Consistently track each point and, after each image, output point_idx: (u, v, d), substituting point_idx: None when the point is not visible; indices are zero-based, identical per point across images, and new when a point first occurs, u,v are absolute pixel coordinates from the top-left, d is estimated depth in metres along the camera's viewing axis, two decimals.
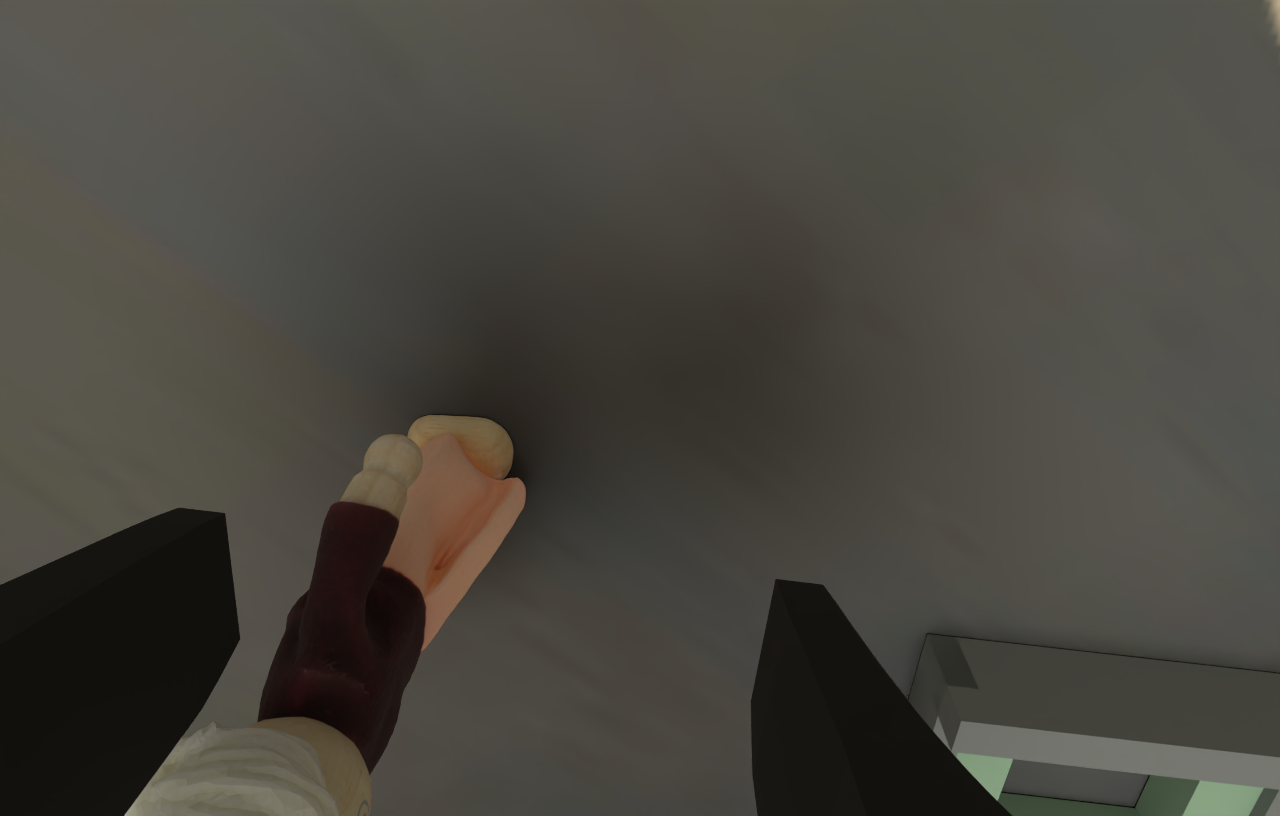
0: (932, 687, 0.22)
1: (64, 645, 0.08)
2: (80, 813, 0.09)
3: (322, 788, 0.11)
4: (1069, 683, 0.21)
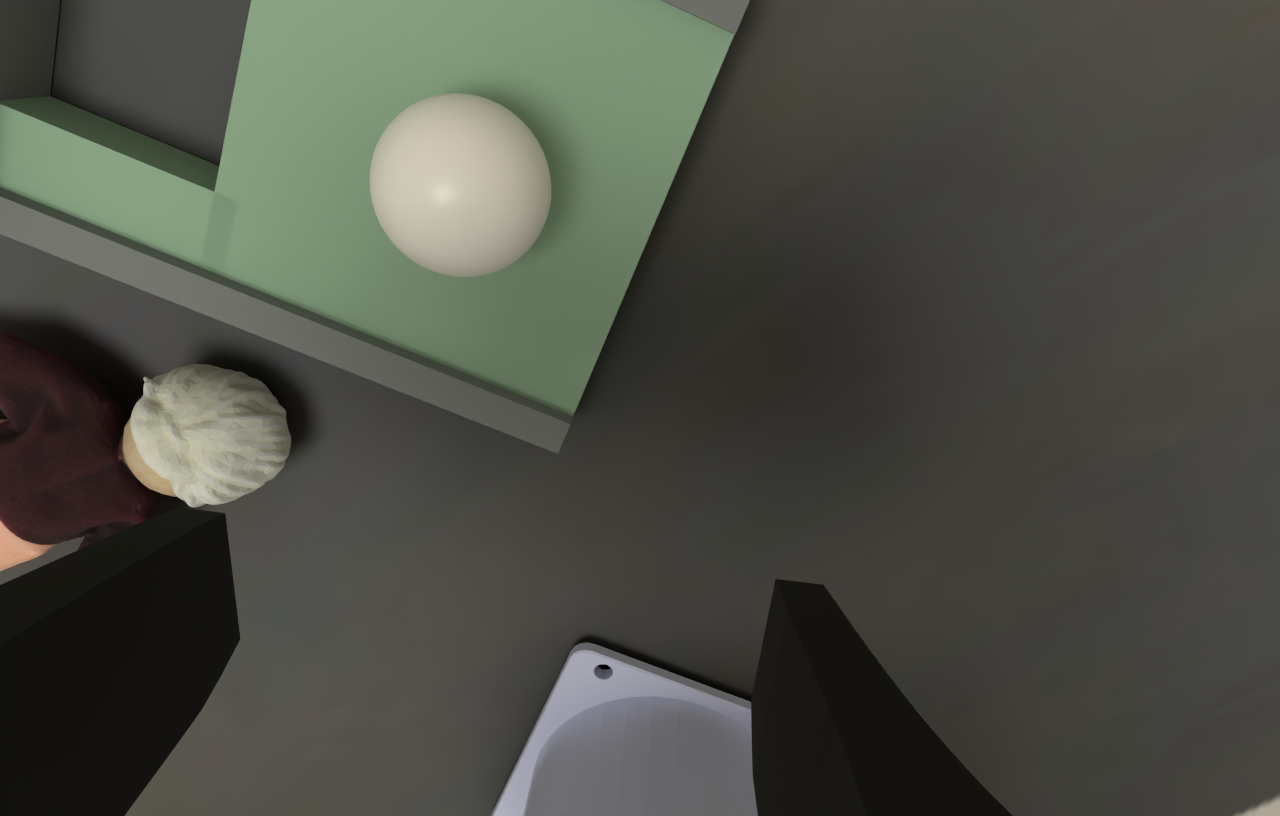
0: None
1: (65, 645, 0.08)
2: (80, 813, 0.09)
3: None
4: None
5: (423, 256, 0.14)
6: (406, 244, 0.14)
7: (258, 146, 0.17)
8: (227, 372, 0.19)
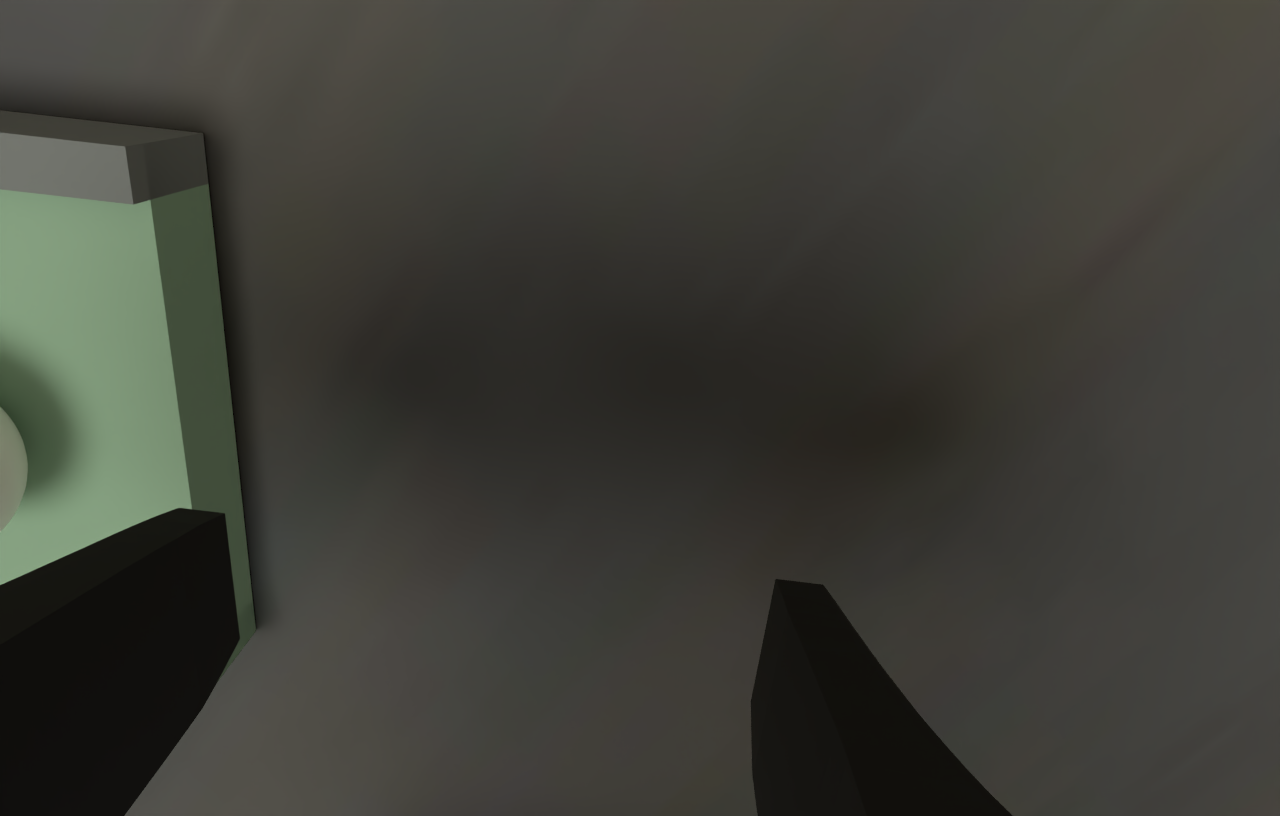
0: None
1: (64, 645, 0.08)
2: (80, 813, 0.09)
3: None
4: None
5: None
6: None
7: None
8: None
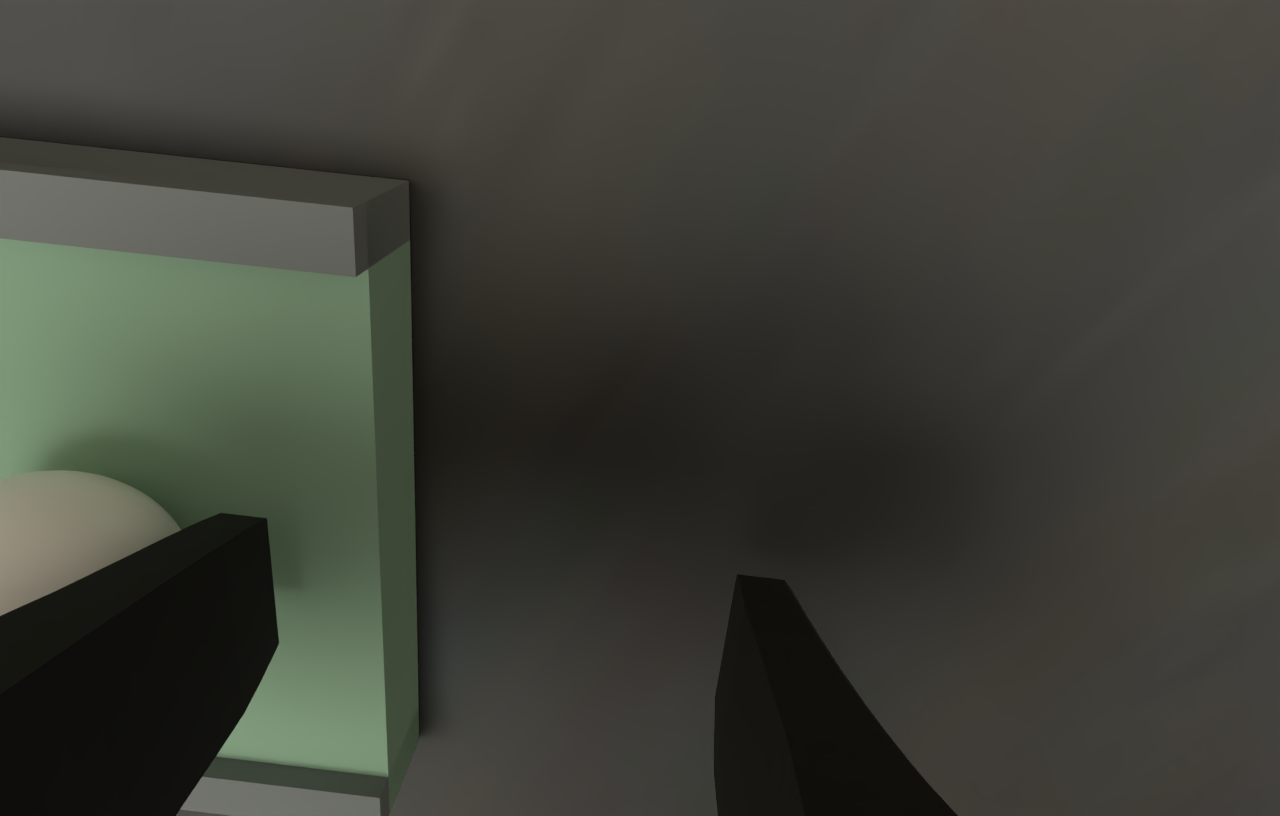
0: None
1: (118, 652, 0.08)
2: None
3: None
4: None
5: None
6: None
7: None
8: None
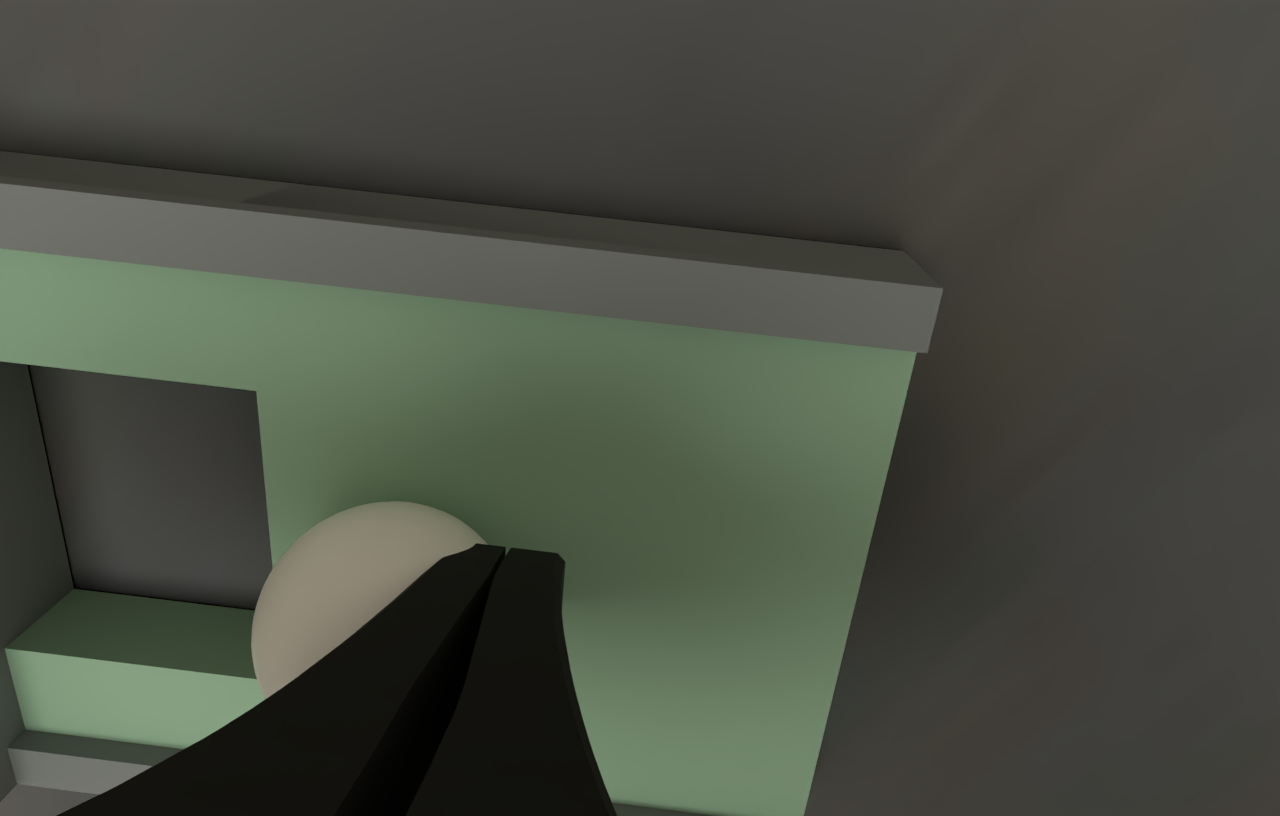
0: None
1: (433, 690, 0.08)
2: None
3: None
4: None
5: None
6: None
7: None
8: None
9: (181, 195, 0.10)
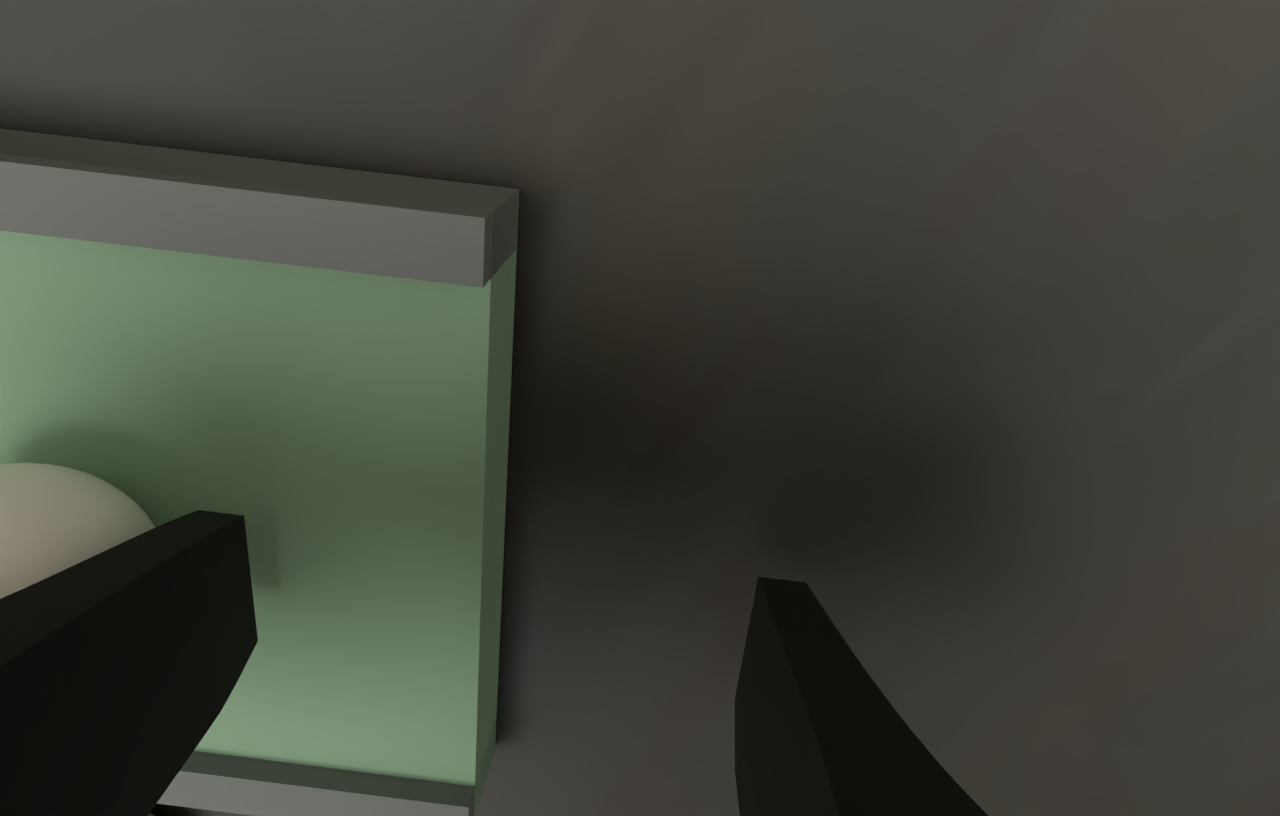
0: None
1: (90, 648, 0.08)
2: None
3: None
4: None
5: None
6: None
7: None
8: None
9: None
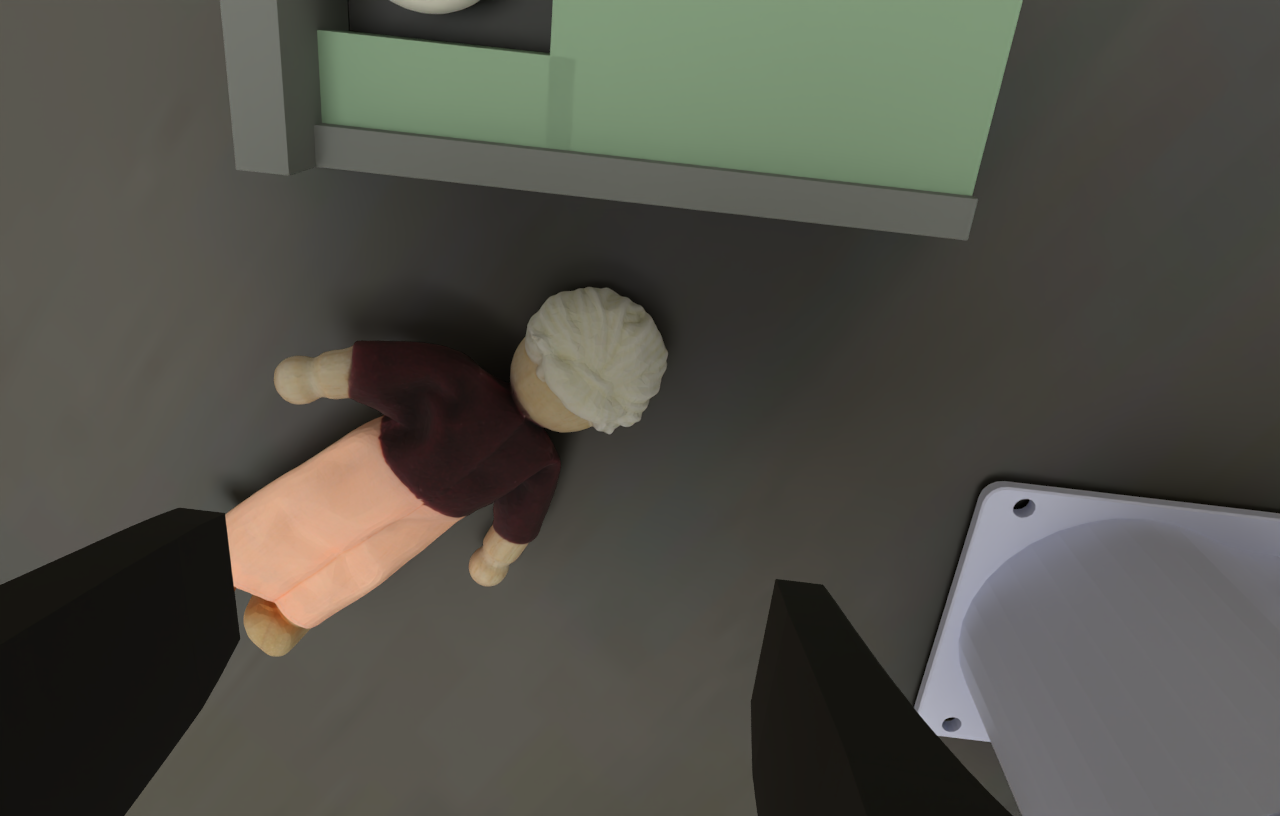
0: None
1: (64, 646, 0.08)
2: (80, 813, 0.09)
3: None
4: None
5: None
6: None
7: None
8: (585, 294, 0.18)
9: None
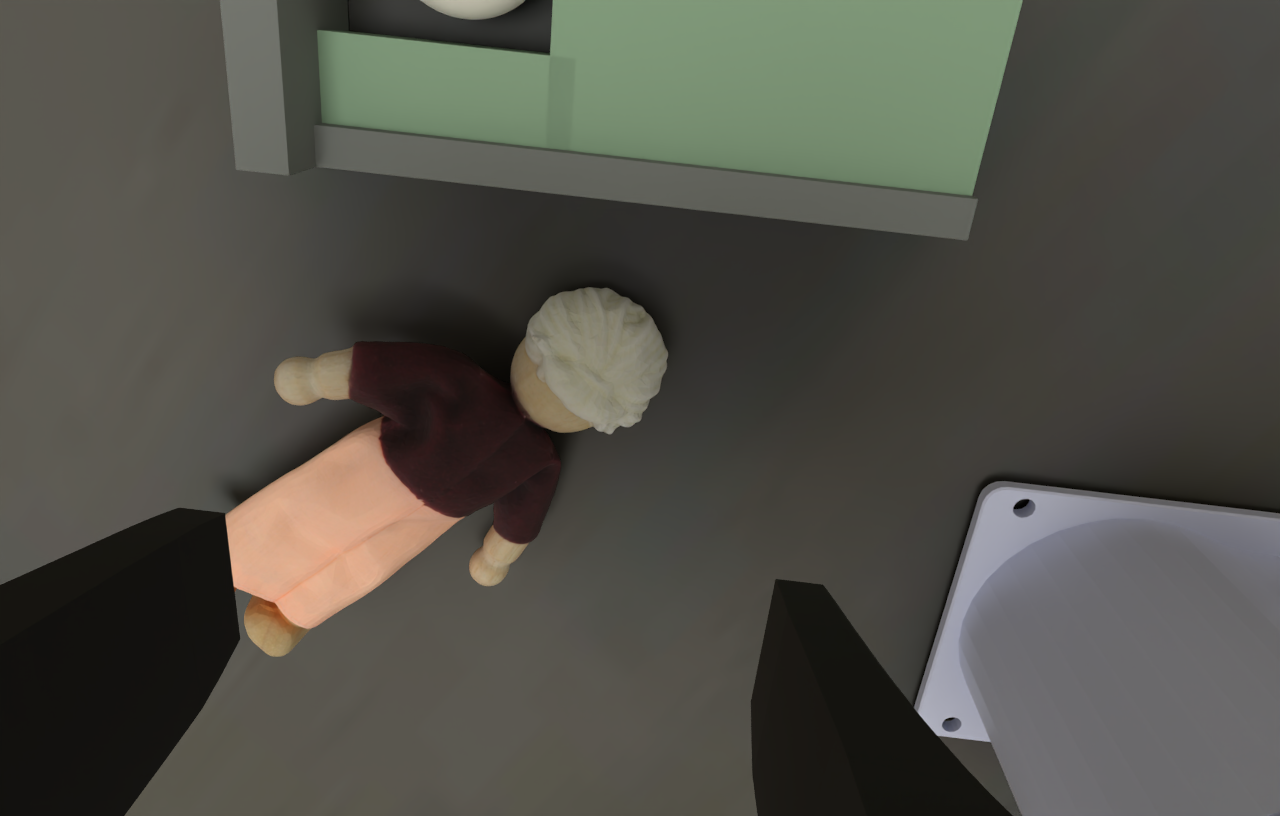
0: None
1: (64, 646, 0.08)
2: (80, 813, 0.09)
3: None
4: None
5: None
6: None
7: None
8: (585, 295, 0.18)
9: None
